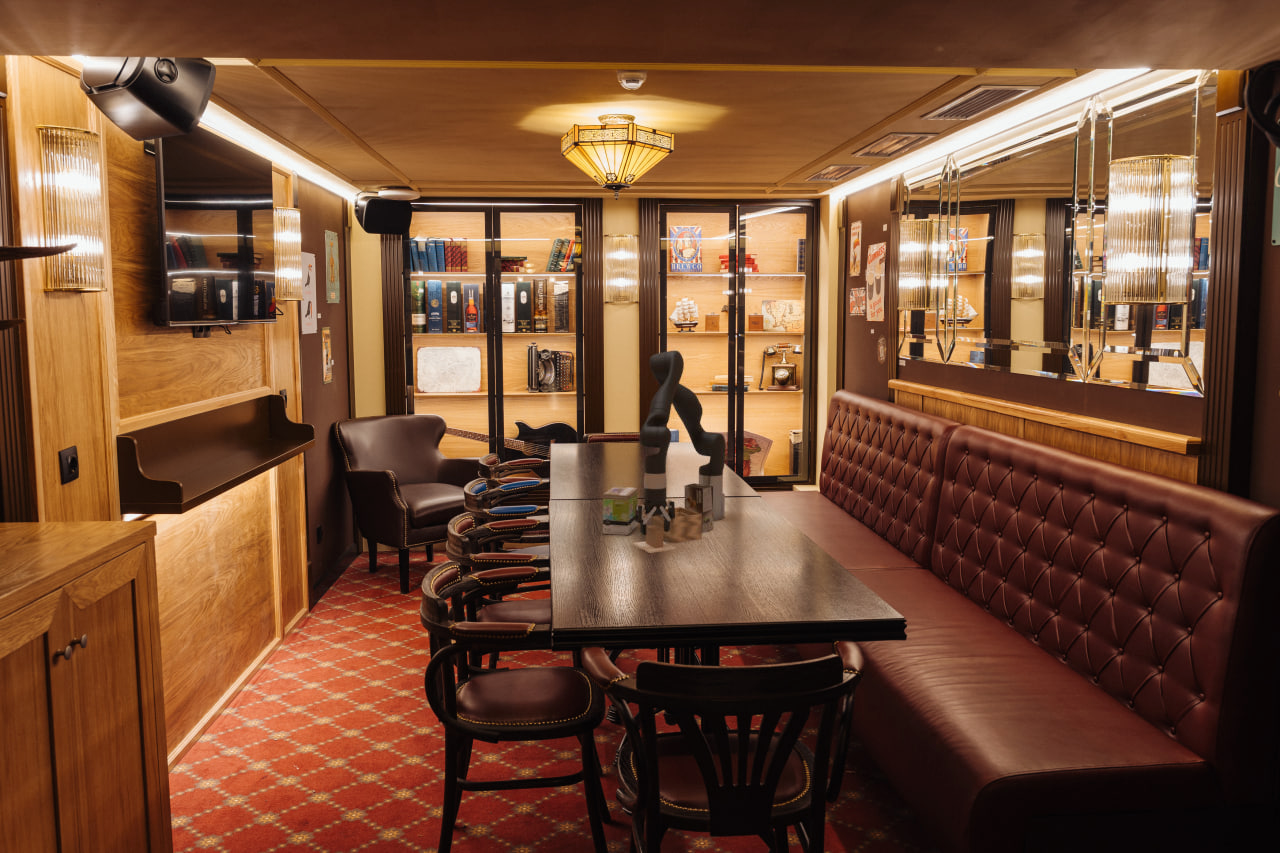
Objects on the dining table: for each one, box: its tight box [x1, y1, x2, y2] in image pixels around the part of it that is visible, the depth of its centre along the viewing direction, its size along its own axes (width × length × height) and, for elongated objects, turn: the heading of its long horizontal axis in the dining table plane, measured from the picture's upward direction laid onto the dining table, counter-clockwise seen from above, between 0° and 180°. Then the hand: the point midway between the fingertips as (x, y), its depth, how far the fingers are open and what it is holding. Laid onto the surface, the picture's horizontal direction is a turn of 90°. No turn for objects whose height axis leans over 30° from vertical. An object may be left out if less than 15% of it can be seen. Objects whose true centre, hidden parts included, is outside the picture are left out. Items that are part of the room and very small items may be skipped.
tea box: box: [602, 486, 639, 536], centre depth 321 cm, size 15×10×15 cm, turn 168°
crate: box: [651, 506, 703, 544], centre depth 312 cm, size 12×14×9 cm
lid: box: [632, 524, 677, 554], centre depth 297 cm, size 10×12×7 cm
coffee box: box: [683, 482, 714, 533], centre depth 323 cm, size 9×6×16 cm
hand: (655, 533), depth 297 cm, fingers open, 8 cm apart
